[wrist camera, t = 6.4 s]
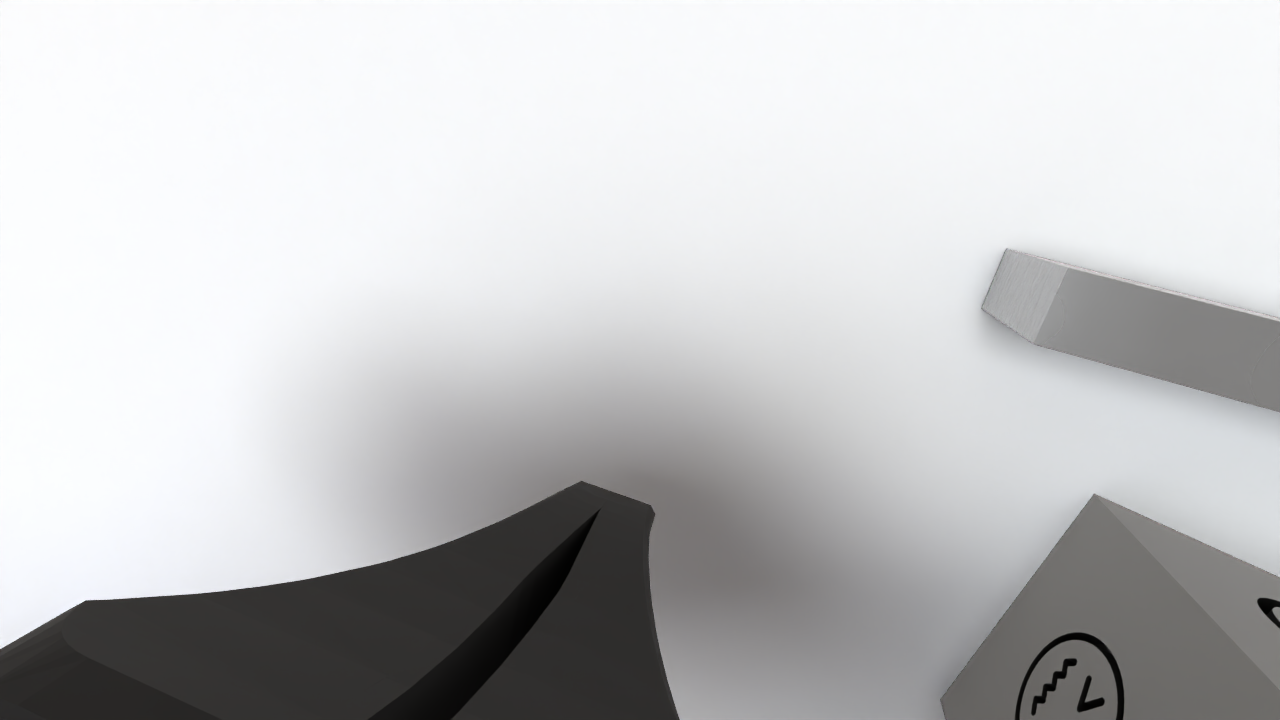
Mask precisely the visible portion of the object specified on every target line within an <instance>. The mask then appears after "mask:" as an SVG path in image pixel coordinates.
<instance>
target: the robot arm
mask: <svg viewBox="0 0 1280 720" xmlns="http://www.w3.org/2000/svg"><path fill="white" fill-rule="evenodd" d="M654 517H655V513H654V511H653V509H652V507H651V505H648V504H645V503H642V502H640V501H637V500H634V499H631V498H628V497H625V496H623V495H620V494H617V493H614V492H611V491H608V490H605V489H603V488H600V487H597V486H594V485H591V484H588V483H586V482H583V481H581V482H579V483H576V484H574V485H572V486H570V487H568V488H566V489H564V490H562V491H560V492H558V493H556V494H554V495H552V496H550V497H548V498H547V499H545V500H543V501H541V502H539V503H537V504H535V505H533V506H531V507H529V508H527V509H525V510H523V511H520V512H518V513H516V514H514V515H512V516H510V517H508V518H506V519H504V520H501V521H499V522H497V523H495V524H493V525H490V526H488V527H485V528H483V529H480V530H478V531H476V532H473V533H471V534H468V535H466V536H463V537H461V538H458V539H456V540H454V541H451V542H448V543H445V544H442V545H440V546H437V547H434V548H431V549H428V550H425V551H422V552H418V553H415V554H411V555H408V556H405V557H401V558H398V559H394V560H391V561H387V562H383V563H380V564H376V565H371V566H367V567H362V568H357V569H353V570H348V571H344V572H339V573H334V574H330V575H325V576H321V577H316V578H311V579H306V580H300V581H294V582H287V583H281V584H275V585H268V586H261V587H253V588H245V589H237V590H229V591H221V592H211V593H201V594H189V595H174V596H159V597H144V598H129V599H113V600H88V601H84V602H82V603H81V604H79V605H77V606H75V607H73V608H71V609H70V610H68V611H66V612H64V613H63V614H61V615H59V616H57V617H56V618H54V619H52V620H50V621H49V622H47V623H45V624H43V625H42V626H40V627H38V628H36V629H35V630H33V631H31V632H30V633H28V634H26V635H24V636H23V637H21V638H19V639H17V640H16V641H14V642H12V643H10V644H9V645H7V646H5V647H3V648H2V649H0V720H680V719H679V716H678V714H677V711H676V707H675V704H674V701H673V697H672V694H671V691H670V687H669V684H668V681H667V677H666V673H665V669H664V665H663V661H662V657H661V653H660V648H659V644H658V639H657V633H656V628H655V622H654V615H653V609H652V601H651V592H650V579H649V561H648V550H649V535H650V530H651V527H652V523H653V520H654Z"/></svg>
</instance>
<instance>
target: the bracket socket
mask: <svg viewBox="0 0 1280 720" xmlns="http://www.w3.org/2000/svg"><path fill="white" fill-rule="evenodd" d="M981 309H983V310H984V311H986V312H987V313H989V314H990V315H992V316H993V317H994V318H996V319H997V320H999V321H1000V322H1002V323H1003V324H1005V325H1006V326H1008V327H1009V328H1010V329H1012V330H1013V331H1015V332H1016V333H1018V334H1019V335H1021V336H1022V337H1024V338H1025V339H1026V340H1028V341H1029V342H1031V343H1032V344H1035V345H1038V346H1042V347H1046V348H1049V349H1053V350H1056V351H1060V352H1064V353H1067V354H1071V355H1075V356H1078V357H1082V358H1085V359H1089V360H1093V361H1096V362H1100V363H1104V364H1107V365H1111V366H1114V367H1118V368H1122V369H1125V370H1129V371H1133V372H1136V373H1140V374H1144V375H1147V376H1151V377H1154V378H1158V379H1162V380H1165V381H1169V382H1173V383H1176V384H1180V385H1183V386H1187V387H1191V388H1194V389H1198V390H1202V391H1205V392H1209V393H1212V394H1216V395H1220V396H1223V397H1227V398H1231V399H1234V400H1238V401H1241V402H1245V403H1249V404H1252V405H1256V406H1260V407H1263V408H1267V409H1270V410H1274V411H1278V412H1280V318H1278V317H1274V316H1270V315H1266V314H1262V313H1258V312H1254V311H1250V310H1246V309H1242V308H1238V307H1234V306H1230V305H1226V304H1222V303H1219V302H1215V301H1211V300H1207V299H1203V298H1199V297H1195V296H1191V295H1187V294H1183V293H1179V292H1175V291H1171V290H1167V289H1163V288H1159V287H1156V286H1152V285H1148V284H1144V283H1140V282H1136V281H1132V280H1128V279H1124V278H1120V277H1116V276H1112V275H1108V274H1104V273H1100V272H1096V271H1093V270H1089V269H1085V268H1081V267H1077V266H1073V265H1069V264H1065V263H1061V262H1057V261H1053V260H1049V259H1045V258H1041V257H1037V256H1033V255H1030V254H1026V253H1022V252H1018V251H1014V250H1010V249H1006V251H1005V254H1004V256H1003V258H1002V261H1001V263H1000V265H999V268H998V270H997V273H996V275H995V277H994V280H993V282H992V285H991V287H990V289H989V292H988V294H987V296H986V299H985V301H984V304H983V306H982V308H981Z"/></svg>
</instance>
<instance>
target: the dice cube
mask: <svg viewBox="0 0 1280 720" xmlns="http://www.w3.org/2000/svg"><path fill="white" fill-rule="evenodd" d="M941 703H942V707H943V711H944V715H945V719H946V720H1280V577H1277V576H1275V575H1273V574H1271V573H1269V572H1266V571H1264V570H1262V569H1260V568H1258V567H1255V566H1253V565H1251V564H1249V563H1246V562H1244V561H1242V560H1240V559H1238V558H1235V557H1233V556H1231V555H1229V554H1227V553H1224V552H1222V551H1220V550H1218V549H1215V548H1213V547H1211V546H1209V545H1207V544H1204V543H1202V542H1200V541H1198V540H1195V539H1193V538H1191V537H1189V536H1187V535H1184V534H1182V533H1180V532H1178V531H1176V530H1173V529H1171V528H1169V527H1167V526H1164V525H1162V524H1160V523H1158V522H1156V521H1153V520H1151V519H1149V518H1147V517H1144V516H1142V515H1140V514H1138V513H1136V512H1133V511H1131V510H1129V509H1127V508H1125V507H1122V506H1120V505H1118V504H1116V503H1113V502H1111V501H1109V500H1107V499H1105V498H1102V497H1100V496H1098V495H1096V494H1094V495H1093V496H1092V497H1091V499H1090V500H1089V501H1088V503H1087V504H1086V505H1085V507H1084V508H1083V509H1082V511H1081V512H1080V513H1079V515H1078V516H1077V517H1076V519H1075V520H1074V522H1073V523H1072V524H1071V526H1070V527H1069V528H1068V530H1067V531H1066V532H1065V534H1064V535H1063V536H1062V538H1061V539H1060V540H1059V542H1058V543H1057V544H1056V546H1055V547H1054V548H1053V550H1052V551H1051V552H1050V554H1049V555H1048V556H1047V558H1046V559H1045V560H1044V562H1043V563H1042V564H1041V566H1040V567H1039V568H1038V570H1037V571H1036V572H1035V574H1034V575H1033V576H1032V578H1031V579H1030V580H1029V582H1028V583H1027V584H1026V586H1025V587H1024V588H1023V590H1022V591H1021V592H1020V594H1019V595H1018V596H1017V598H1016V599H1015V600H1014V602H1013V603H1012V605H1011V606H1010V607H1009V609H1008V610H1007V611H1006V613H1005V614H1004V615H1003V617H1002V618H1001V619H1000V621H999V622H998V623H997V625H996V626H995V627H994V629H993V630H992V631H991V633H990V634H989V635H988V637H987V638H986V639H985V641H984V642H983V643H982V645H981V646H980V647H979V649H978V650H977V651H976V653H975V654H974V655H973V657H972V658H971V659H970V661H969V662H968V663H967V665H966V666H965V667H964V669H963V670H962V671H961V673H960V674H959V675H958V677H957V678H956V679H955V681H954V682H953V683H952V685H951V686H950V687H949V689H948V690H947V692H946V693H945V694H944V696H943V697H942V698H941Z"/></svg>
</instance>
